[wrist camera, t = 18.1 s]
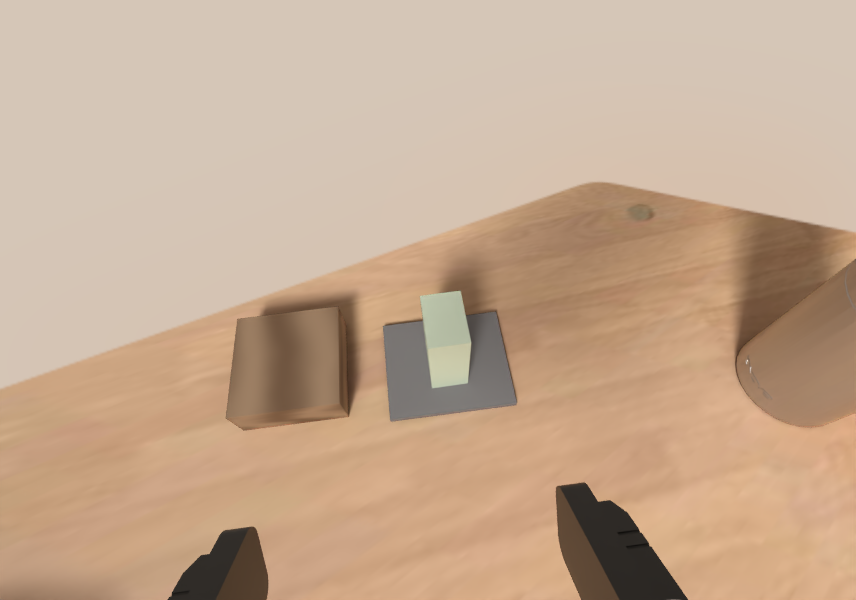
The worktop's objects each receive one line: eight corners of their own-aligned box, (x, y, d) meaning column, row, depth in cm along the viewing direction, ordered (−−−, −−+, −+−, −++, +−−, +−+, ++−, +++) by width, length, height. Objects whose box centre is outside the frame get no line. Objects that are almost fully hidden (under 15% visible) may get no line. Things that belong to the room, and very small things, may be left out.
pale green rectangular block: (459, 337, 46) (460, 290, 38) (467, 383, 43) (471, 342, 36) (425, 342, 46) (419, 296, 38) (432, 388, 43) (427, 348, 35)
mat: (495, 314, 48) (495, 311, 47) (516, 405, 43) (516, 403, 42) (383, 328, 47) (383, 325, 47) (390, 421, 42) (390, 419, 42)
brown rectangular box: (346, 325, 48) (338, 306, 44) (348, 416, 43) (339, 403, 39) (252, 337, 48) (237, 318, 44) (243, 430, 42) (225, 418, 39)
